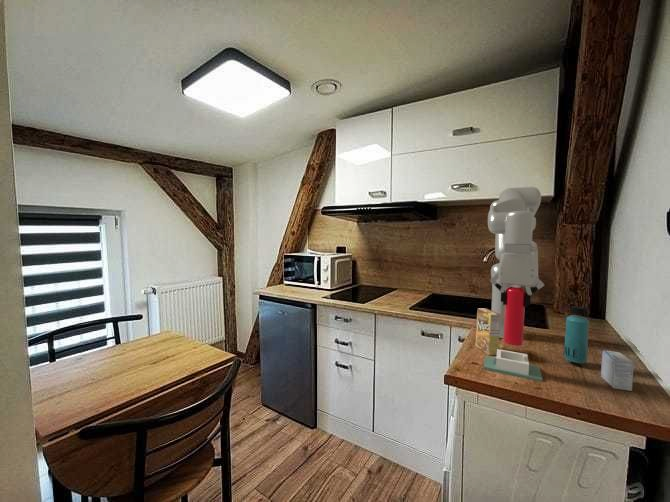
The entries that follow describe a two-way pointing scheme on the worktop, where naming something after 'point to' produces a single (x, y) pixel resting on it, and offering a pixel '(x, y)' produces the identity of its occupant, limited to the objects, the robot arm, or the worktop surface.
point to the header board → (512, 365)
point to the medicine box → (617, 370)
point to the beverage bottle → (576, 336)
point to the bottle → (514, 315)
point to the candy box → (487, 331)
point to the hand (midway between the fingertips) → (514, 304)
